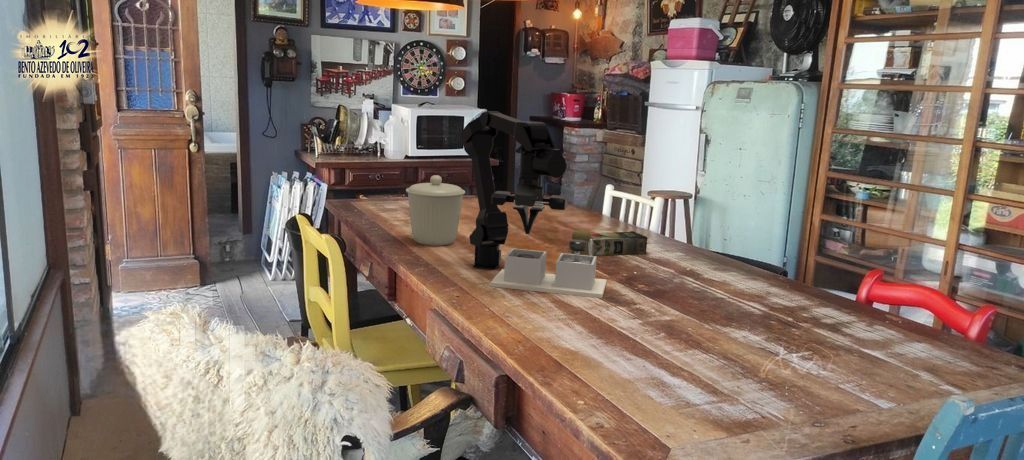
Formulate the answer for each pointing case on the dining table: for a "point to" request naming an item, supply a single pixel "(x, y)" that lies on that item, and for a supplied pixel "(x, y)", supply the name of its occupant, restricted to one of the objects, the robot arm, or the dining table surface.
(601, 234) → the juice carton
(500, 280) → the board
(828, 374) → the dining table surface
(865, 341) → the dining table surface
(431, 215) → the canister
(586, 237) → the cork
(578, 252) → the plunger
